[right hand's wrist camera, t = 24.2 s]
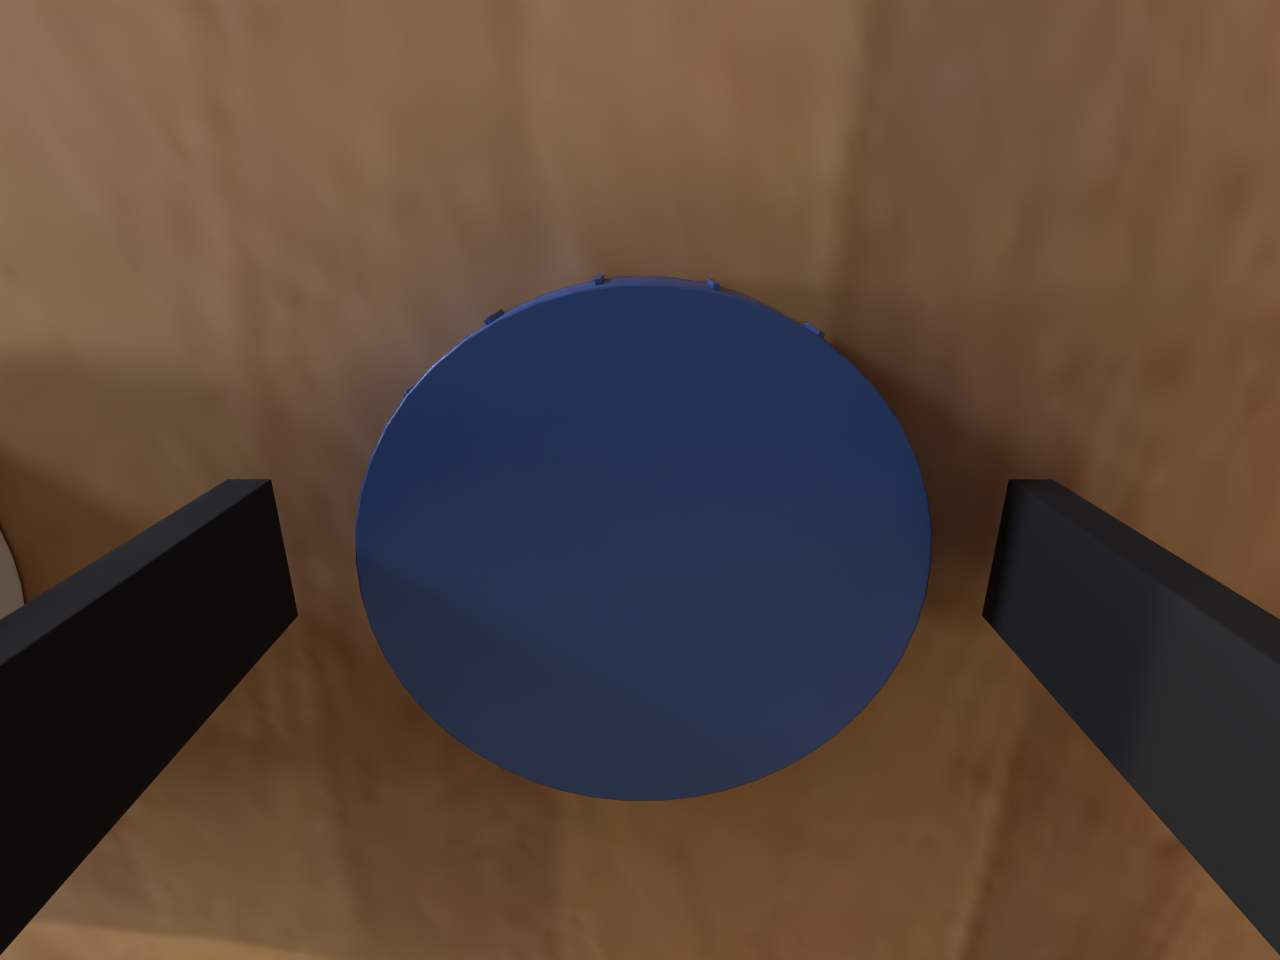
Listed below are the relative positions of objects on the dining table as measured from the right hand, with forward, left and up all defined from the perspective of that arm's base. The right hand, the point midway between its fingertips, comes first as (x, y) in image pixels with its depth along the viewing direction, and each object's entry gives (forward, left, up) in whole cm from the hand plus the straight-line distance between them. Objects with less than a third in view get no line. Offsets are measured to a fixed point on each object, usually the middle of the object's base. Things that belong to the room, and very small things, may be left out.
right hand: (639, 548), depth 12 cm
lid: (0, 0, 0) cm, 0 cm away
